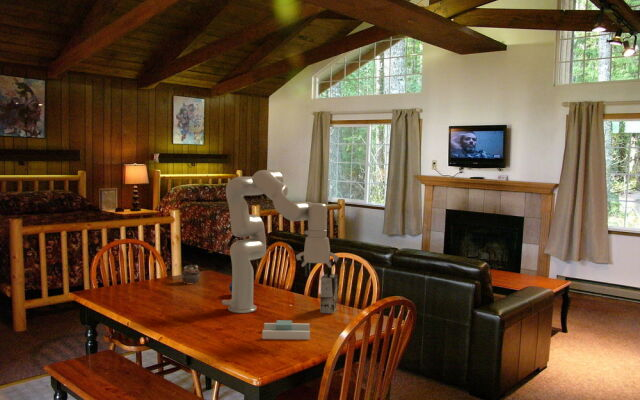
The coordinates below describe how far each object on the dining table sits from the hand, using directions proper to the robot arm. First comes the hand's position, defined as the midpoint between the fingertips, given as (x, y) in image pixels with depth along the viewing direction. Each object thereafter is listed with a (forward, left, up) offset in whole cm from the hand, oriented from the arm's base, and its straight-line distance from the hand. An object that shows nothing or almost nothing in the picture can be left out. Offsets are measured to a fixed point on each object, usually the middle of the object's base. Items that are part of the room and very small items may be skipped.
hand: (317, 276), depth 217 cm
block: (-13, -8, -22) cm, 26 cm away
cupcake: (-67, +79, -22) cm, 106 cm away
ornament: (-38, +52, -22) cm, 68 cm away
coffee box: (+6, +27, -22) cm, 35 cm away
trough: (-12, -8, -22) cm, 26 cm away
